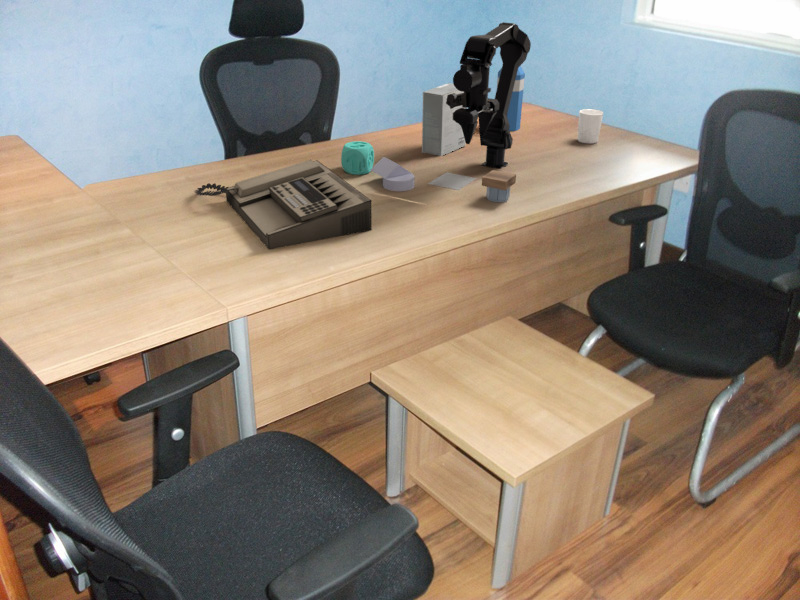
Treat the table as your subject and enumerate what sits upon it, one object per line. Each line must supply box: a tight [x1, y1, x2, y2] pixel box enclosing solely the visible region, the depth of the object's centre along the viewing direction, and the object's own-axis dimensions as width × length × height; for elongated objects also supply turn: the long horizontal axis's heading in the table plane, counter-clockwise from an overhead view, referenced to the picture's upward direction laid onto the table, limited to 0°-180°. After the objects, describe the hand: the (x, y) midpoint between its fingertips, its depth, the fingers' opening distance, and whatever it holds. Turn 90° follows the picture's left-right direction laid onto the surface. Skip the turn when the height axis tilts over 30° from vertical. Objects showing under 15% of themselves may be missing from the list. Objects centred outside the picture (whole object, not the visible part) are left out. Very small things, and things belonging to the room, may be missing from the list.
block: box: [481, 169, 517, 190], centre depth 203 cm, size 7×7×2 cm
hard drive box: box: [421, 82, 466, 157], centre depth 241 cm, size 16×8×20 cm, turn 144°
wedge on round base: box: [370, 156, 415, 192], centre depth 214 cm, size 9×7×13 cm
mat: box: [427, 172, 478, 191], centre depth 218 cm, size 12×10×1 cm
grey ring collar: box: [485, 187, 511, 203], centre depth 205 cm, size 6×6×4 cm
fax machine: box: [193, 159, 373, 250], centre depth 194 cm, size 45×34×10 cm
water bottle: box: [496, 66, 526, 132], centre depth 264 cm, size 9×9×25 cm
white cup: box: [577, 108, 604, 145], centre depth 255 cm, size 8×8×10 cm
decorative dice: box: [340, 140, 375, 176], centre depth 224 cm, size 8×8×8 cm
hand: (474, 139), depth 214 cm, fingers open, 9 cm apart
